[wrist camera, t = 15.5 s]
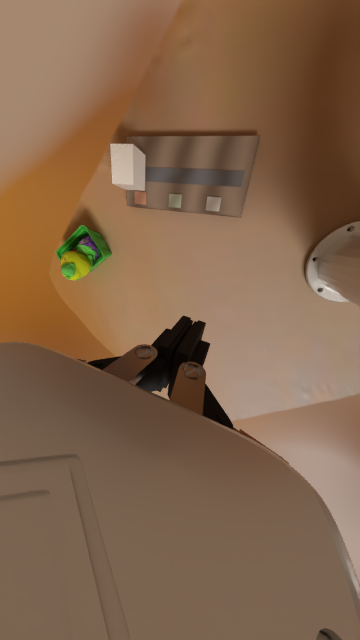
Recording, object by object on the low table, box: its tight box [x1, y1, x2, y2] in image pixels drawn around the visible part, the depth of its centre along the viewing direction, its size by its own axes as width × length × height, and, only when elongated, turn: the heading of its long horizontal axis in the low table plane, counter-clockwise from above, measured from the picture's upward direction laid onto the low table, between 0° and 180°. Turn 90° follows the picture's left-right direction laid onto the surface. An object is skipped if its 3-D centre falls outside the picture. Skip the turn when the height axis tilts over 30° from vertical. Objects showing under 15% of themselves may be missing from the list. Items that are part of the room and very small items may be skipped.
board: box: [126, 136, 260, 217], centre depth 30 cm, size 22×10×2 cm, turn 83°
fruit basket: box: [56, 225, 112, 280], centre depth 37 cm, size 11×9×11 cm
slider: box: [110, 144, 146, 191], centre depth 29 cm, size 4×5×4 cm
